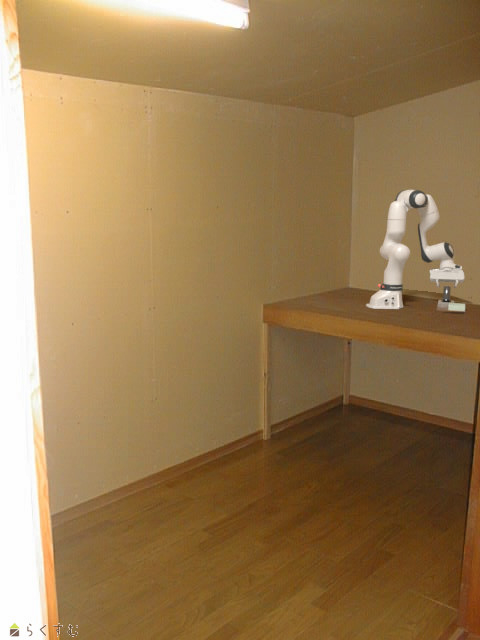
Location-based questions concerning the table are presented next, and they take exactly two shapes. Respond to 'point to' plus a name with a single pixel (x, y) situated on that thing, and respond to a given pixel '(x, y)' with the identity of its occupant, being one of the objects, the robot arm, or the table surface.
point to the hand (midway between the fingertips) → (446, 286)
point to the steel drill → (446, 294)
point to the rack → (456, 307)
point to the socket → (444, 303)
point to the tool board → (450, 310)
